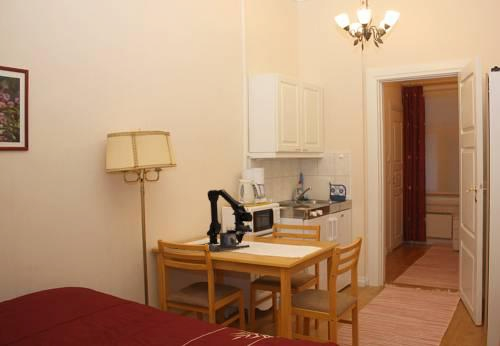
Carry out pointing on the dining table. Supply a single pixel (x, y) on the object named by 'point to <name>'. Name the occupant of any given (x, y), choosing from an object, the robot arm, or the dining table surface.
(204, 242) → the dining table surface
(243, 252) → the dining table surface
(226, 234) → the small box
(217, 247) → the guide channel
